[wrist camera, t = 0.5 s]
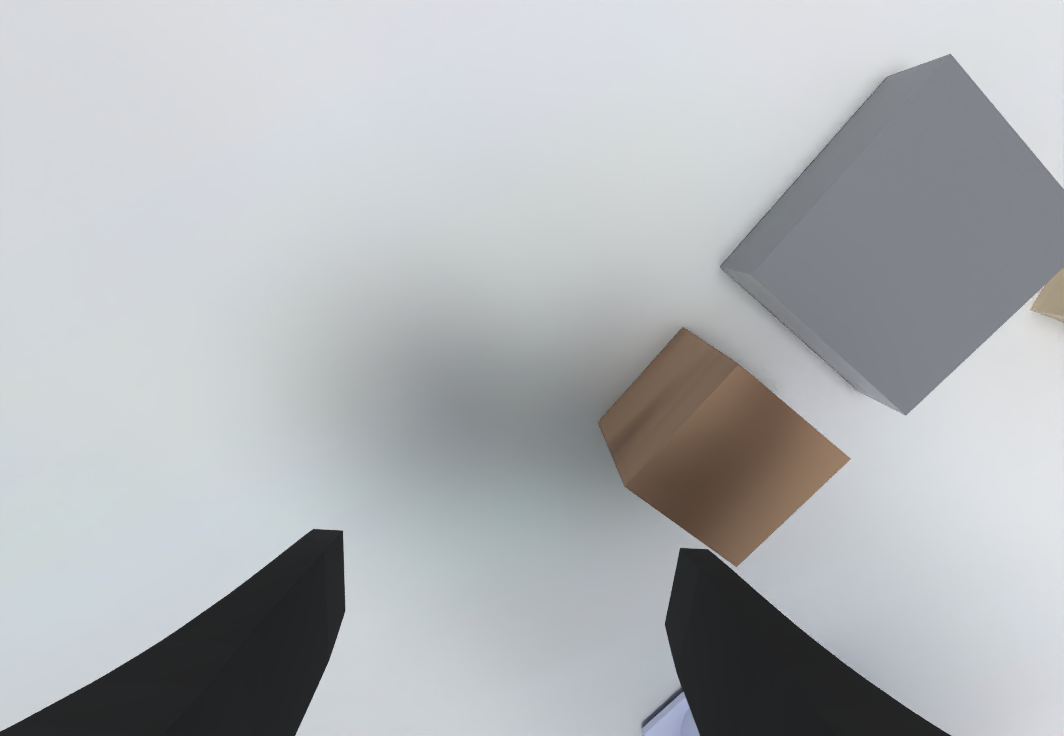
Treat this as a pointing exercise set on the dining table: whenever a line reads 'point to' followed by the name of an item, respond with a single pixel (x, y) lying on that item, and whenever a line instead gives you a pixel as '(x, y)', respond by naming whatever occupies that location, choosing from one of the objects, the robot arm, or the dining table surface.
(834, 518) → the dining table surface
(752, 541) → the walnut cube
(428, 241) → the dining table surface
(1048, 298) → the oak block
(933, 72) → the slate base
